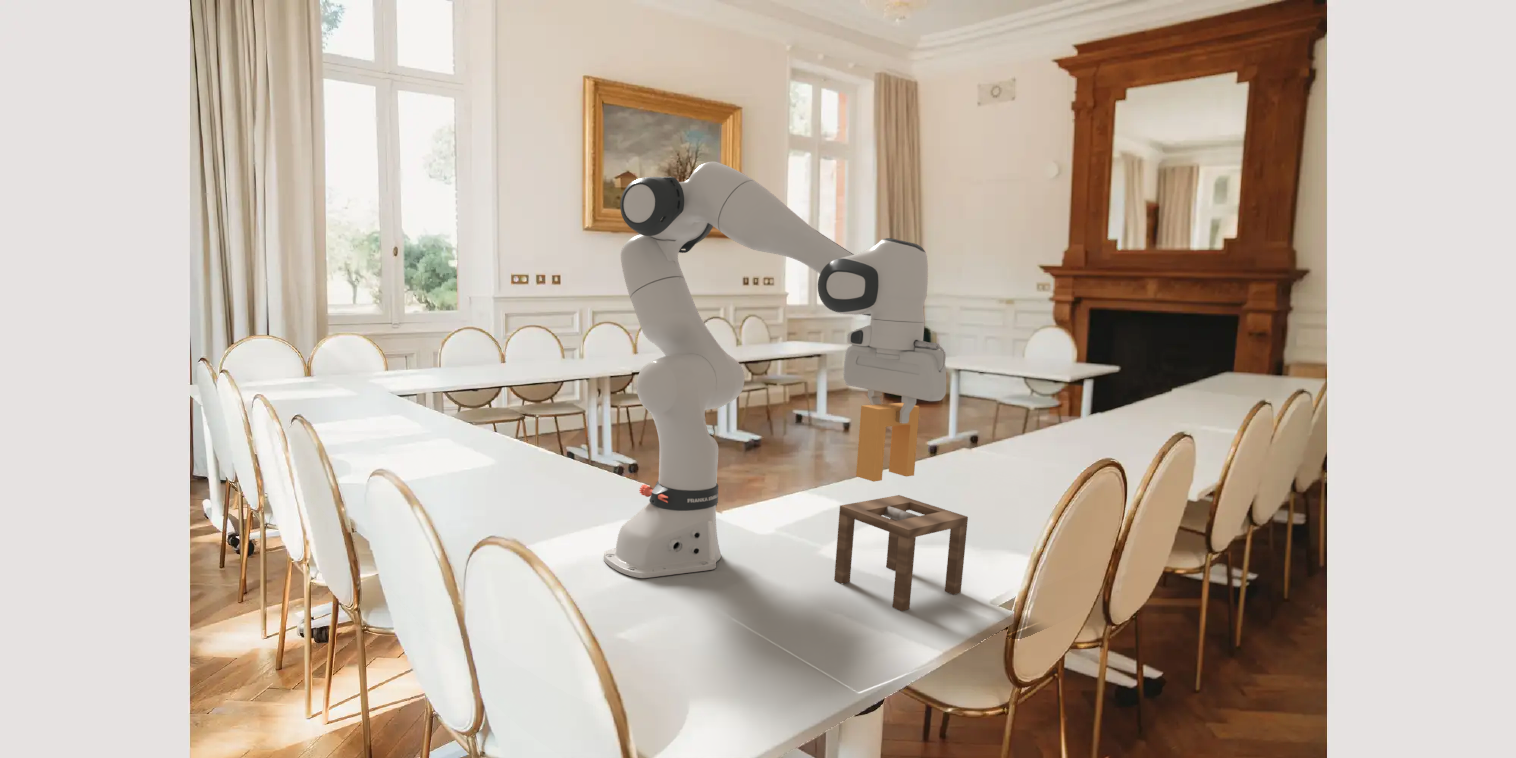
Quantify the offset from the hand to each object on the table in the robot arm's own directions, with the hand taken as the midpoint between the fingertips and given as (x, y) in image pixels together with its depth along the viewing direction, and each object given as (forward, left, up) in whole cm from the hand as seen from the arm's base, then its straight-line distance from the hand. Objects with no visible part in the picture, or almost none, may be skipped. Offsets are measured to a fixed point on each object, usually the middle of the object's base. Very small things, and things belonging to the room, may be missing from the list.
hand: (889, 419), depth 138 cm
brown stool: (+8, +2, -31) cm, 32 cm away
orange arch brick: (0, 0, -10) cm, 10 cm away
